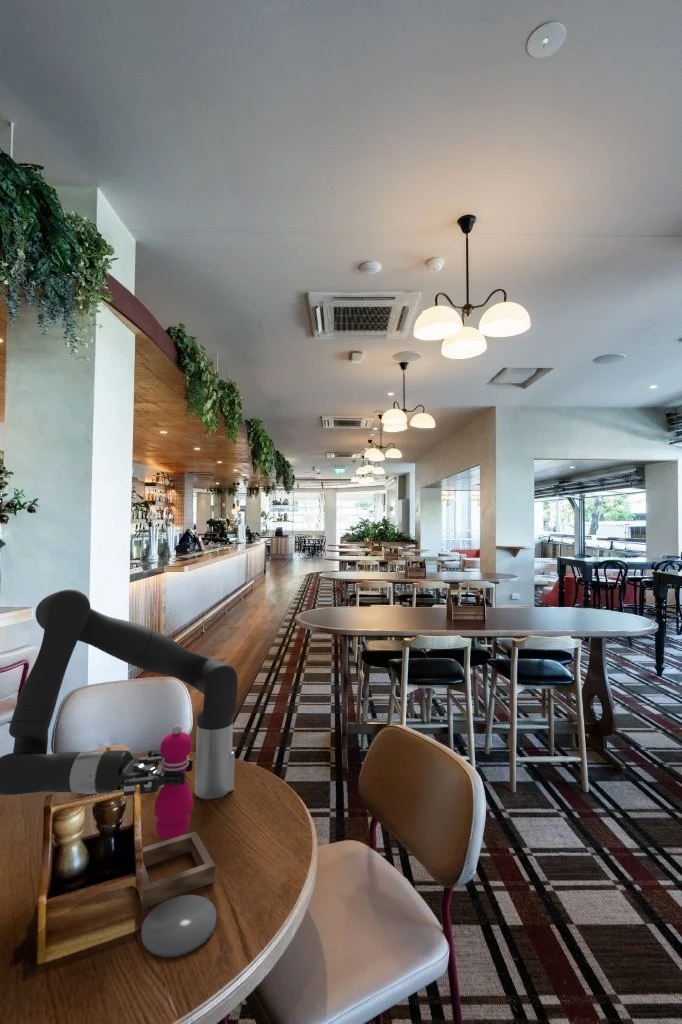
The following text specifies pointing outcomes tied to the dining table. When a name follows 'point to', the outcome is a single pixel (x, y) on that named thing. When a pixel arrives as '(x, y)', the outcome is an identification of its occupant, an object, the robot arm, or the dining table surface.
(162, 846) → the walnut board
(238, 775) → the dining table surface
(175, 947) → the grey round disc
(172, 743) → the pepper mill
